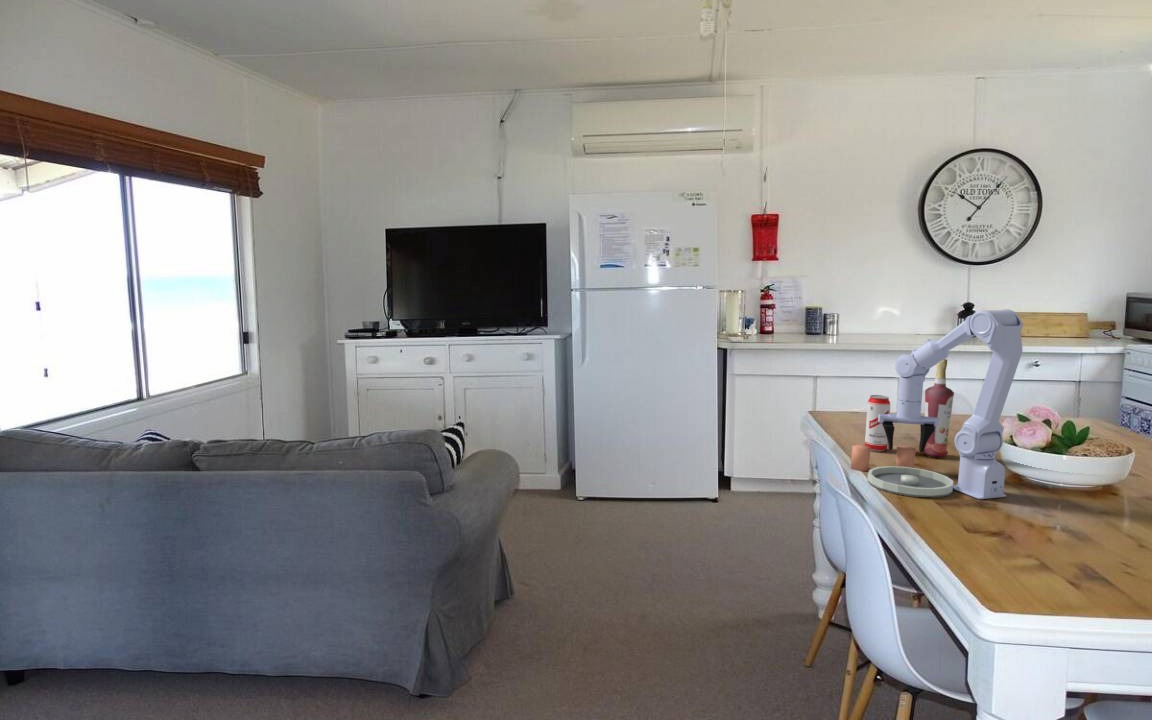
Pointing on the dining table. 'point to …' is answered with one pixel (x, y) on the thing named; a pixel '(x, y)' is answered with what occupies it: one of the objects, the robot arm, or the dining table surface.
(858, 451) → the reddish brown rounded cylinder
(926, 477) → the groove tray
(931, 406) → the liquor
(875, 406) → the beer can
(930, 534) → the dining table surface
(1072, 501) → the dining table surface
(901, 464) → the salmon rounded capsule
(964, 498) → the dining table surface
